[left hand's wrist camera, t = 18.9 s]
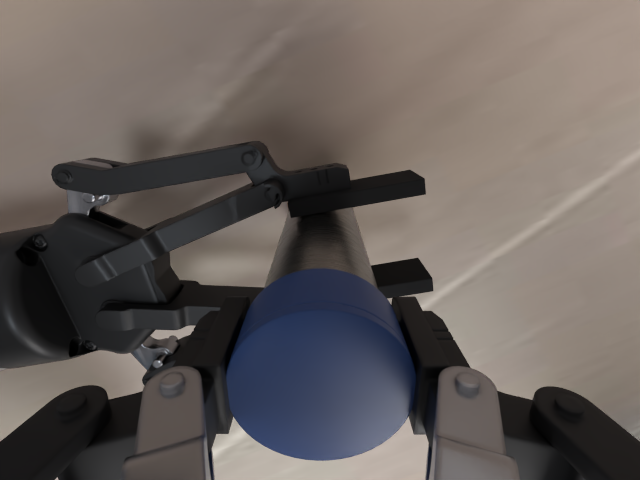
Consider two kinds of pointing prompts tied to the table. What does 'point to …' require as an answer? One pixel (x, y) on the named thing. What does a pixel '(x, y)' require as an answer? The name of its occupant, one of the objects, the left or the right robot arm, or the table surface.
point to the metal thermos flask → (321, 246)
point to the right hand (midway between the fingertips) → (420, 229)
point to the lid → (320, 367)
